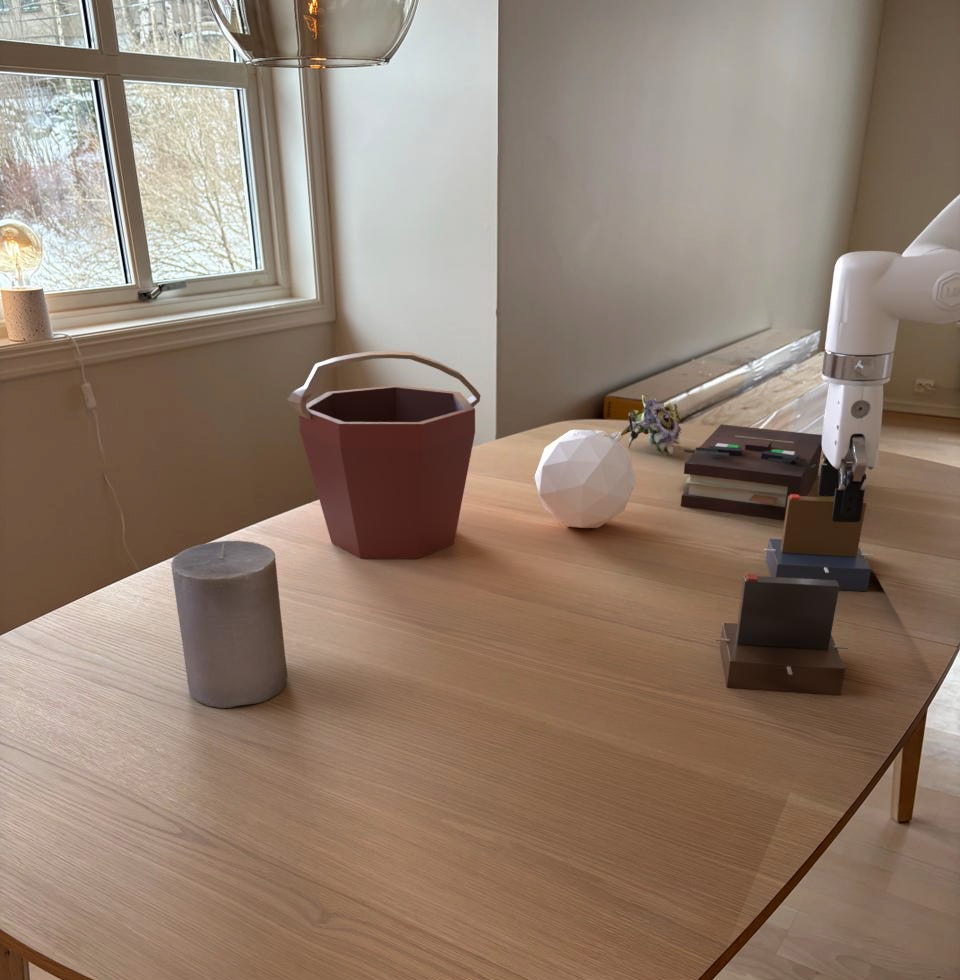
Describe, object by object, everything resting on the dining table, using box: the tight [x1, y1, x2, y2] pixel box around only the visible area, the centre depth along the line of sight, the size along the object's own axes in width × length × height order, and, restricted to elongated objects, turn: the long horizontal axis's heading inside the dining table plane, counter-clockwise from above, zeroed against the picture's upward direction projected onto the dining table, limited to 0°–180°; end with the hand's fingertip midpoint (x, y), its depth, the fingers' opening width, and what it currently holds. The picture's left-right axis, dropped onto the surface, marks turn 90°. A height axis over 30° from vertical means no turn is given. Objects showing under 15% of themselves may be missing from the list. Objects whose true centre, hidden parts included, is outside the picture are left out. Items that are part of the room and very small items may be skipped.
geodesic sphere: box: [534, 428, 637, 529], centre depth 139 cm, size 15×14×14 cm
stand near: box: [714, 622, 850, 696], centre depth 101 cm, size 13×13×3 cm
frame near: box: [736, 573, 840, 650], centre depth 99 cm, size 9×2×7 cm, turn 82°
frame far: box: [781, 494, 867, 557], centre depth 122 cm, size 9×2×7 cm, turn 81°
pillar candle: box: [170, 540, 289, 709], centre depth 95 cm, size 10×10×15 cm
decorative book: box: [680, 424, 823, 521], centre depth 155 cm, size 19×8×30 cm
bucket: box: [286, 350, 481, 560], centre depth 131 cm, size 24×22×25 cm
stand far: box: [763, 538, 874, 592], centre depth 124 cm, size 13×13×3 cm
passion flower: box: [620, 394, 682, 456], centre depth 175 cm, size 11×11×12 cm
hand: (838, 507), depth 121 cm, fingers open, 9 cm apart
